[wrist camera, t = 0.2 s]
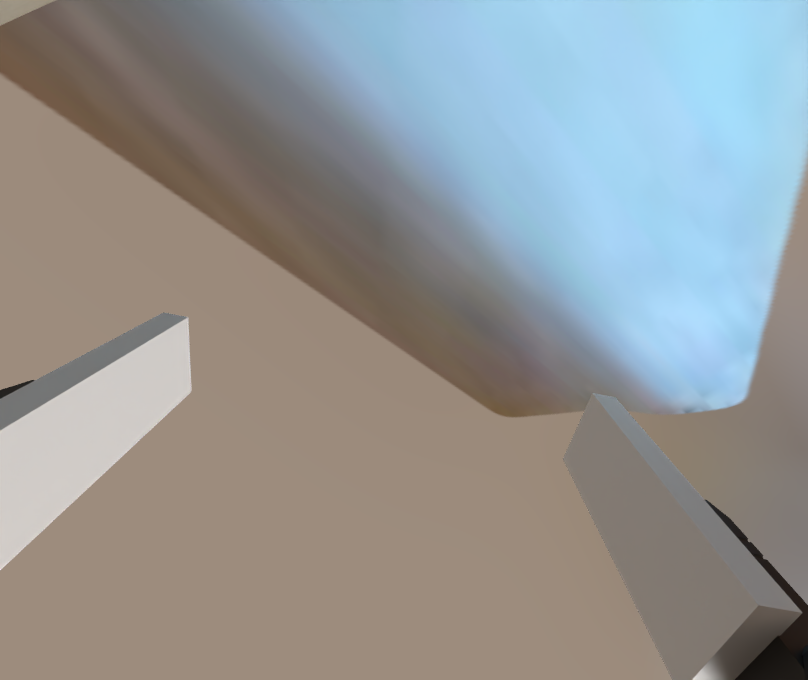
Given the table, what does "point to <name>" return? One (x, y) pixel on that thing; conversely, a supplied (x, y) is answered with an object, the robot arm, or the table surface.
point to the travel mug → (18, 8)
